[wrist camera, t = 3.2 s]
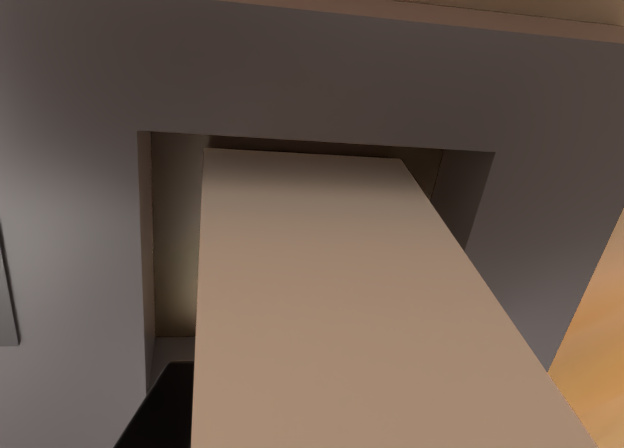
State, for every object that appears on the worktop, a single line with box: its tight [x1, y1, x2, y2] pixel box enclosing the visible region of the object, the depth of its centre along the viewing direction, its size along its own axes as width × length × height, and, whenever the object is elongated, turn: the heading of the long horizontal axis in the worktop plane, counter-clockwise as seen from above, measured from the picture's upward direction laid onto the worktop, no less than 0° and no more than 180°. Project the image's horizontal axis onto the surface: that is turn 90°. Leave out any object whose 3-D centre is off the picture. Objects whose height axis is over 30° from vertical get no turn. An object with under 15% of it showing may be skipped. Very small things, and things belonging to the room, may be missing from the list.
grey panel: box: [0, 0, 624, 448], centre depth 11 cm, size 10×18×2 cm, turn 83°
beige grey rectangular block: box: [191, 148, 599, 448], centre depth 8 cm, size 4×4×9 cm
